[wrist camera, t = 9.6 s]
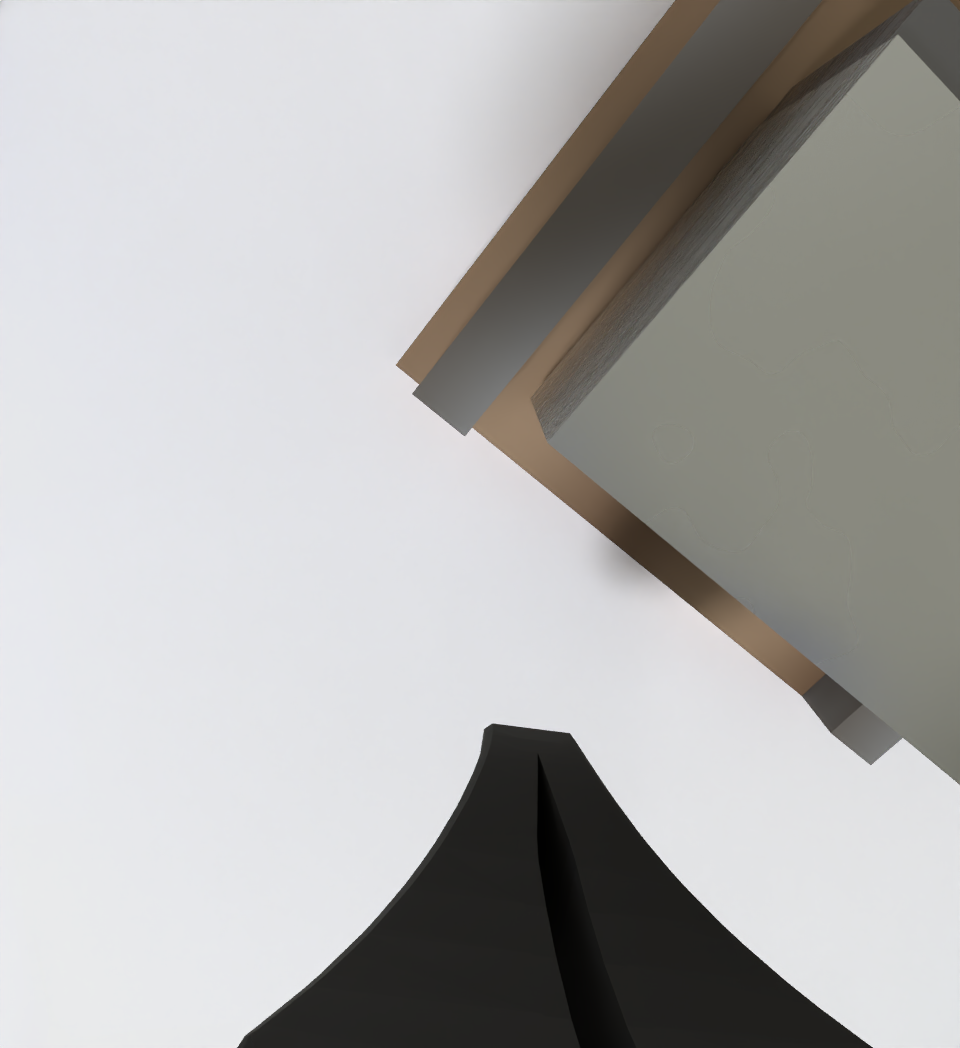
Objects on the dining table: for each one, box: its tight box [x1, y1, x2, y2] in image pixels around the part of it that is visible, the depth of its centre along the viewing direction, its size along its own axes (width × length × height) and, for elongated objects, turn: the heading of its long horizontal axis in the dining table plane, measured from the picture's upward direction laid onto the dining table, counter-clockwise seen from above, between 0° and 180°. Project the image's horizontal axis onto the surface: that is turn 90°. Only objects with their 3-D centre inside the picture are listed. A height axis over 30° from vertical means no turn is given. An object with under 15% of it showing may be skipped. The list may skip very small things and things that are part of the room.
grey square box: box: [530, 0, 960, 784], centre depth 10 cm, size 7×6×4 cm
